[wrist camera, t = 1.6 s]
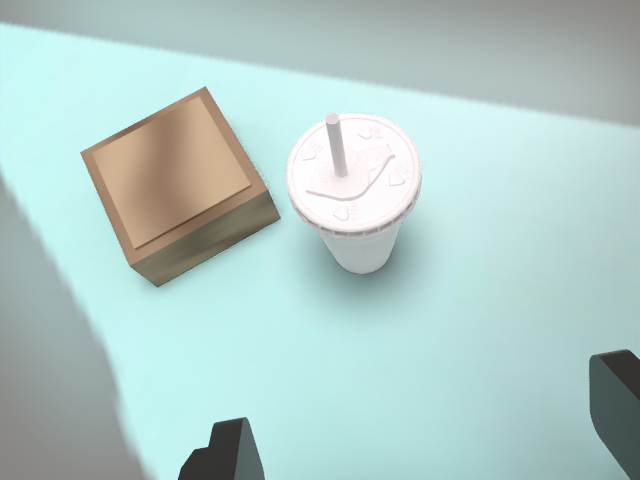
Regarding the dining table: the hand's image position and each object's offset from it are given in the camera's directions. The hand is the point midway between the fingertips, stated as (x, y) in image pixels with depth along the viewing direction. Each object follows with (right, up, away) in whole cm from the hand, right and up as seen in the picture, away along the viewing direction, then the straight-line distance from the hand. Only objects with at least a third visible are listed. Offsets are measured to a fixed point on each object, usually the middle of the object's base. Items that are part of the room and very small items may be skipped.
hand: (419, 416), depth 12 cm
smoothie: (0, +4, +21) cm, 22 cm away
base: (-11, +7, +24) cm, 27 cm away
